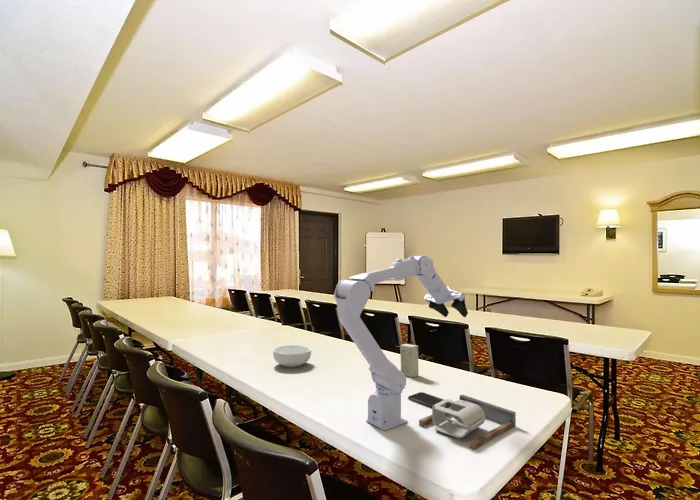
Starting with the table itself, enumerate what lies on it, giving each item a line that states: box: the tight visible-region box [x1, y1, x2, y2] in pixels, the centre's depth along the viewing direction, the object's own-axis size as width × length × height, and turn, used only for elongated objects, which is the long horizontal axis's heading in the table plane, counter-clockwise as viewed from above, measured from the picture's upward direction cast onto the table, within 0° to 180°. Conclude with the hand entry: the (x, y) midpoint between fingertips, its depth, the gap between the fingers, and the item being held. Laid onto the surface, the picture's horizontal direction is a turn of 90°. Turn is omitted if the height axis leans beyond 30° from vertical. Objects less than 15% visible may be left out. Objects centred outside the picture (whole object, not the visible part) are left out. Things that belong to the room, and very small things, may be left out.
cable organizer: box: [431, 398, 486, 439], centre depth 101 cm, size 7×12×12 cm
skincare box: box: [399, 343, 420, 378], centre depth 150 cm, size 6×4×12 cm
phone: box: [407, 391, 452, 409], centre depth 120 cm, size 8×1×15 cm
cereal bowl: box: [272, 344, 312, 368], centre depth 164 cm, size 17×17×7 cm
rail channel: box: [418, 394, 517, 451], centre depth 103 cm, size 21×17×4 cm
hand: (456, 314), depth 120 cm, fingers open, 7 cm apart
